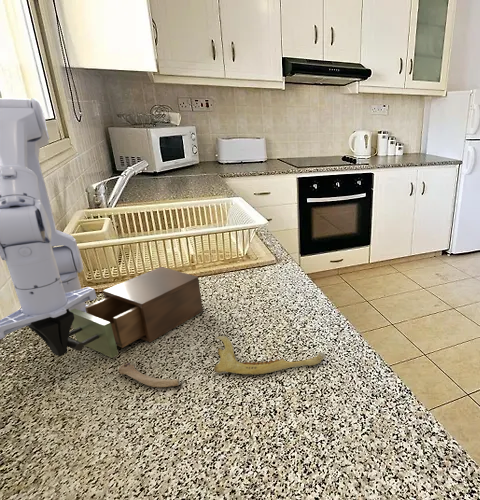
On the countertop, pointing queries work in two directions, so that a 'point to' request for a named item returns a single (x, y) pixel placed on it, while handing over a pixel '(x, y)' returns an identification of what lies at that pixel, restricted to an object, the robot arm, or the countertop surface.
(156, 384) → the bone
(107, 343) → the drawer
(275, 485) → the countertop surface
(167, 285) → the cabinet
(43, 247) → the robot arm
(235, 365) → the jawbone
